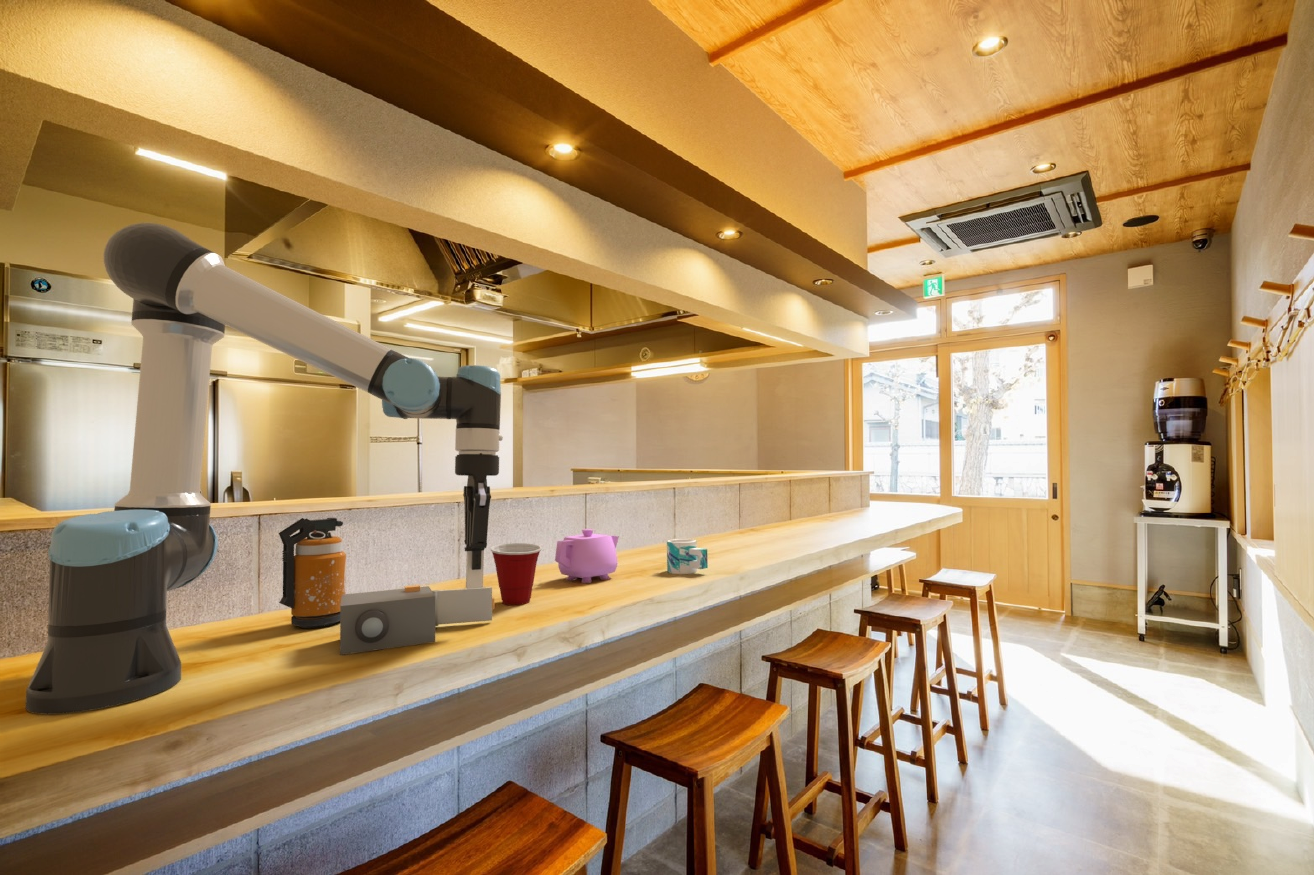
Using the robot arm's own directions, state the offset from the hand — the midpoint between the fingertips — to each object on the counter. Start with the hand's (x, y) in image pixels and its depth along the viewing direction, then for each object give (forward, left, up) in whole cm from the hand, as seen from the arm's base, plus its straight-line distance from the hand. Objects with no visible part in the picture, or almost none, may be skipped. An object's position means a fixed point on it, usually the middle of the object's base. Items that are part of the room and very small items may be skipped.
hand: (474, 587), depth 107 cm
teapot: (+35, +38, -8) cm, 52 cm away
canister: (-26, +21, -8) cm, 34 cm away
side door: (-1, +6, -7) cm, 10 cm away
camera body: (-14, +2, -8) cm, 16 cm away
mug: (+61, +33, -8) cm, 70 cm away
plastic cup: (+12, +20, -8) cm, 25 cm away
